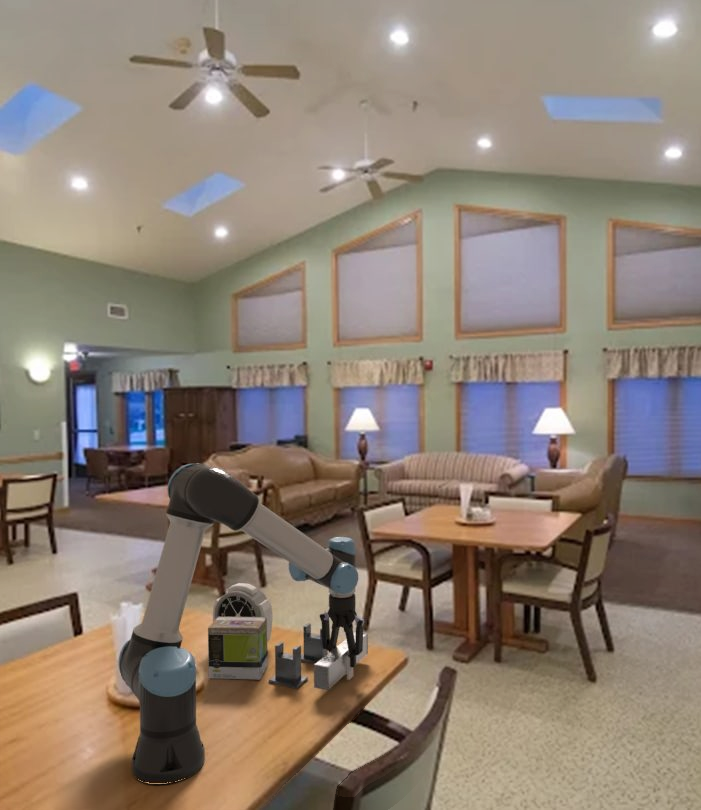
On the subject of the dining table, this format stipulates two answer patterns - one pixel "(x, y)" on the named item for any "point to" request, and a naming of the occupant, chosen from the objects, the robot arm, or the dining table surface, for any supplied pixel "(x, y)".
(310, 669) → the dining table surface
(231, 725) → the dining table surface
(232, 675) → the tea box
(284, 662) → the post
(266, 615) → the alarm clock
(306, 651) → the post
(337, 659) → the rail
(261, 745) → the dining table surface
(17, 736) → the dining table surface
